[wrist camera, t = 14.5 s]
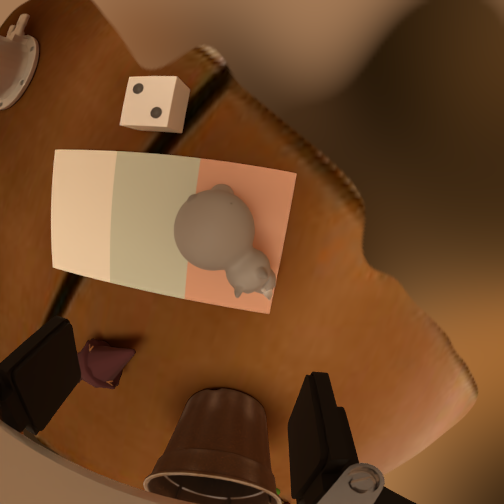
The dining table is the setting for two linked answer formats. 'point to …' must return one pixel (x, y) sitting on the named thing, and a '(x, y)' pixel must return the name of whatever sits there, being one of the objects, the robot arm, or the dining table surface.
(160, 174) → the game mat
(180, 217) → the round bodied animal figurine
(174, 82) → the die
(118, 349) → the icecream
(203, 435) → the plant pot
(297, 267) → the dining table surface
